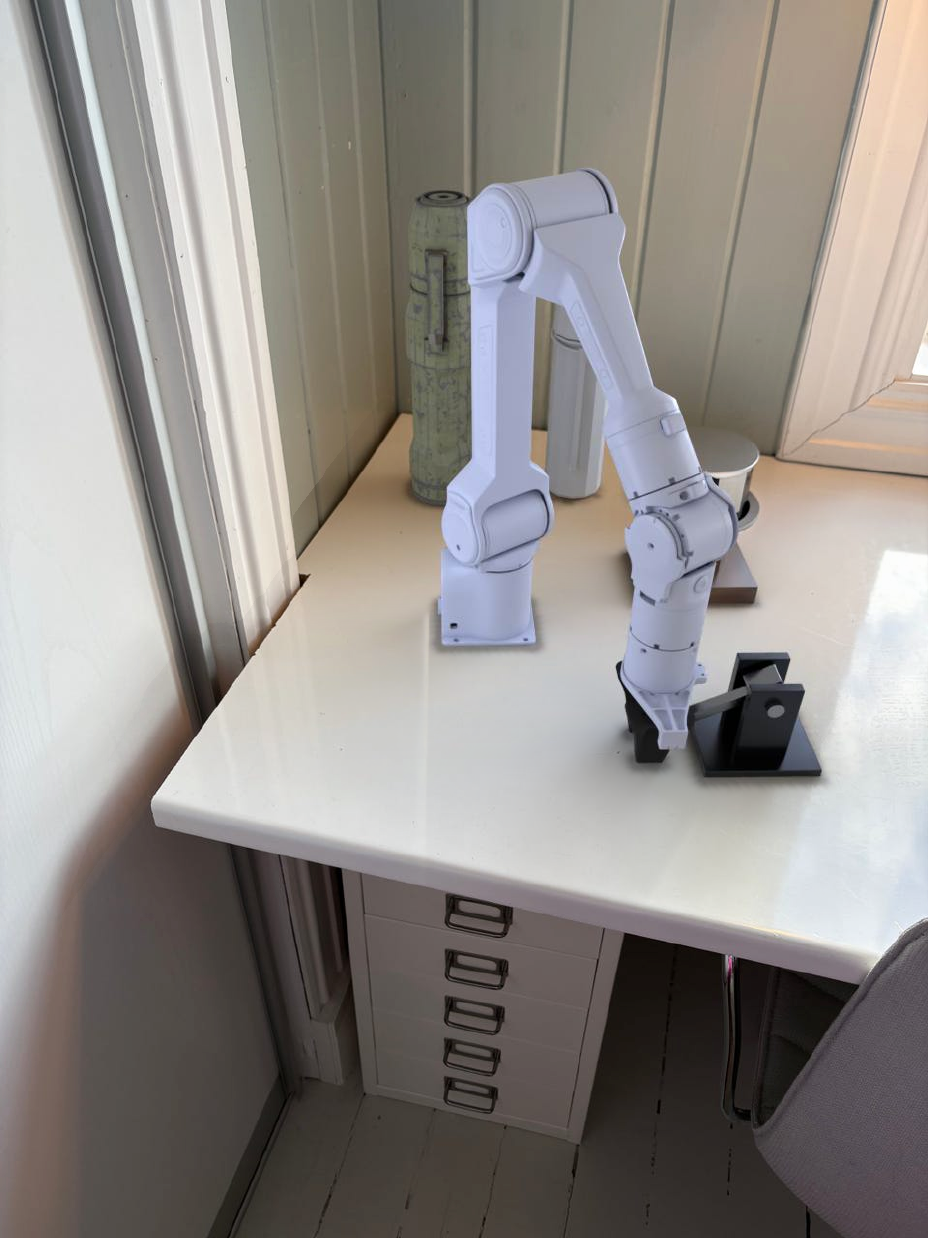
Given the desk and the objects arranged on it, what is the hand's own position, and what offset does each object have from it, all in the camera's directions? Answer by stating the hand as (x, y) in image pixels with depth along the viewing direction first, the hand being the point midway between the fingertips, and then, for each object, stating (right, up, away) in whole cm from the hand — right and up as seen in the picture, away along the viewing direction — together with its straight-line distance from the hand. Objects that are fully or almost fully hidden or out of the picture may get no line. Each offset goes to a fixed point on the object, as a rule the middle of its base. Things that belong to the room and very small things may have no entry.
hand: (644, 748), depth 83 cm
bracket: (+9, 0, 0) cm, 9 cm away
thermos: (-18, +28, +36) cm, 49 cm away
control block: (+9, +16, +21) cm, 28 cm away
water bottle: (-2, +28, +36) cm, 45 cm away
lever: (+6, +3, -2) cm, 7 cm away
